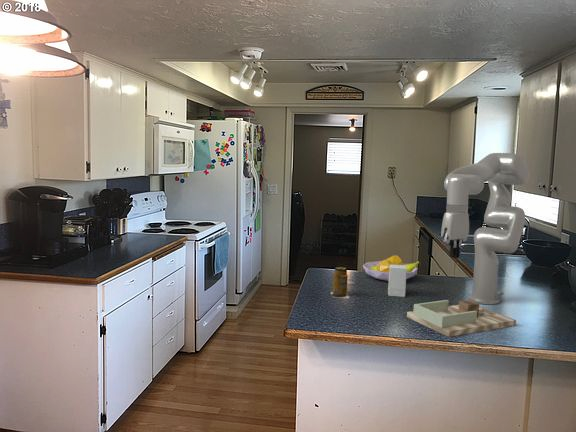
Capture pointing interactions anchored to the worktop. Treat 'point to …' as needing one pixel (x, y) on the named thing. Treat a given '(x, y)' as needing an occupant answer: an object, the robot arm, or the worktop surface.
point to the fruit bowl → (382, 268)
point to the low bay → (430, 315)
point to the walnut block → (468, 306)
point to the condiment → (340, 283)
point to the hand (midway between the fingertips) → (454, 257)
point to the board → (481, 323)
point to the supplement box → (397, 280)
